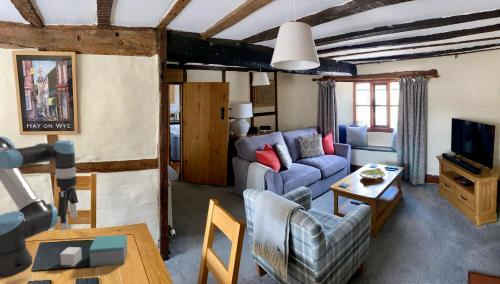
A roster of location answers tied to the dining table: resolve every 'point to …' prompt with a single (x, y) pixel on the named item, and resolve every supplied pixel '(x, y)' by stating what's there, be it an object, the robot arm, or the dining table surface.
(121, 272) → the dining table surface
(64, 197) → the robot arm
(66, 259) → the light grey cube
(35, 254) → the dining table surface
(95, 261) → the box
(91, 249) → the lid
